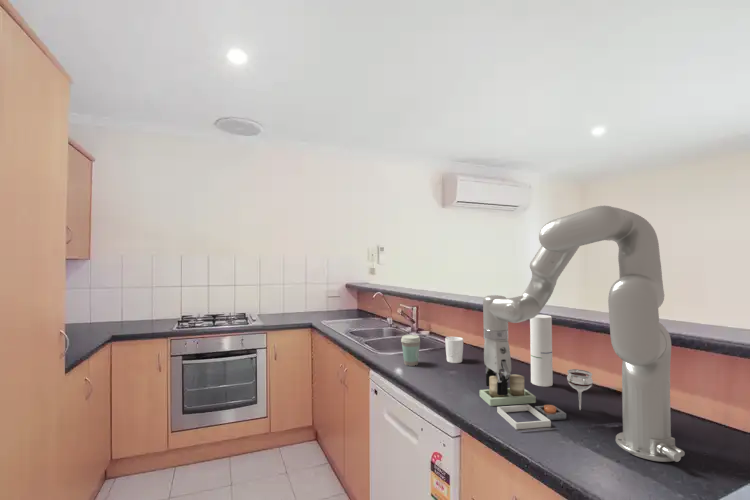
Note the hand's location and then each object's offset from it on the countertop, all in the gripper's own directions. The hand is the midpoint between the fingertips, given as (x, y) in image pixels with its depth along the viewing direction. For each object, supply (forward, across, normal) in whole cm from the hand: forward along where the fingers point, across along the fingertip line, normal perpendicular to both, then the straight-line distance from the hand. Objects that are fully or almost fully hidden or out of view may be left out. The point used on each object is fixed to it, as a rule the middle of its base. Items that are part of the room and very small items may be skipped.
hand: (496, 389), depth 120 cm
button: (+3, -13, -10) cm, 17 cm away
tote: (+4, -14, -1) cm, 15 cm away
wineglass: (+4, -11, -21) cm, 24 cm away
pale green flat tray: (+4, 0, -4) cm, 6 cm away
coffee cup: (+4, +46, +17) cm, 49 cm away
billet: (+3, 0, 0) cm, 3 cm away
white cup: (+4, +47, -3) cm, 47 cm away
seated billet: (+3, 0, -7) cm, 8 cm away
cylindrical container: (+4, +12, -23) cm, 26 cm away
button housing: (+4, -13, -10) cm, 17 cm away
